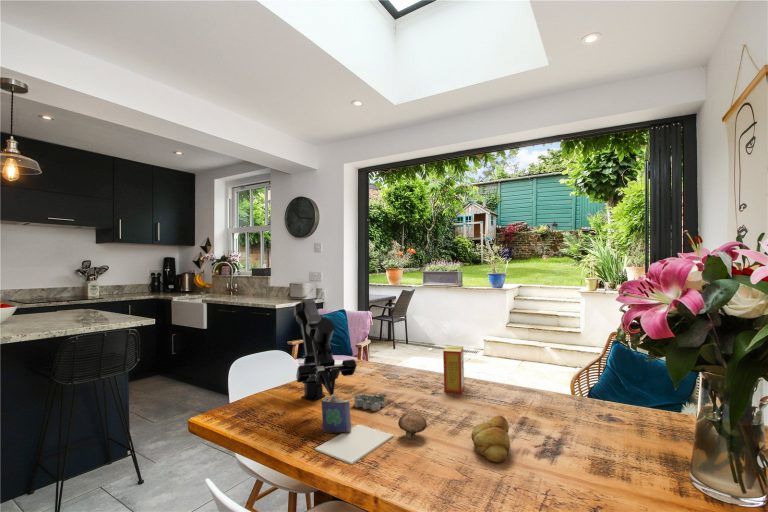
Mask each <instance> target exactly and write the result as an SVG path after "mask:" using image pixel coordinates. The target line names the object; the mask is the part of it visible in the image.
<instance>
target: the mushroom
mask: <svg viewBox="0 0 768 512" xmlns="http://www.w3.org/2000/svg"><path fill="white" fill-rule="evenodd" d="M397 425H398V427H399V428H400V430H403V431H404V432H405V436H406V437H407V438H408V439H410V440H415V438H416V434H418V433H422V432H423V431H425V430H426V428H427V426H428V424H427V420H426V419H425V417H424V416H423V415H421V414H420V413H416V412H406V413H404V414H402V415H400V417H399V419H398V423H397Z"/></svg>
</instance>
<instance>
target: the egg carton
mask: <svg viewBox="0 0 768 512" xmlns="http://www.w3.org/2000/svg"><path fill="white" fill-rule="evenodd" d="M386 397H387V394H385V393H379V394H365V393H359V394H357V395H354V396H352V398H353V399H354V400H353V401H354V402H353V403H354V407H355V408H360V407H361V408H362V409H363V410H367V409H370V410H371V411H372V412H374V411H380V410H381V408H384V407H386Z"/></svg>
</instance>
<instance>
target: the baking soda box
mask: <svg viewBox="0 0 768 512" xmlns="http://www.w3.org/2000/svg"><path fill="white" fill-rule="evenodd" d="M442 354H443V359H442V360H443V361H442V362H443V390H444V391H443V393H450V394H462V393H463V390H464V388H465V367H464V366H465V365H464V361H465V359H464V346H460V345H459V346H458V345H446V347H444V349H443V352H442Z"/></svg>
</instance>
